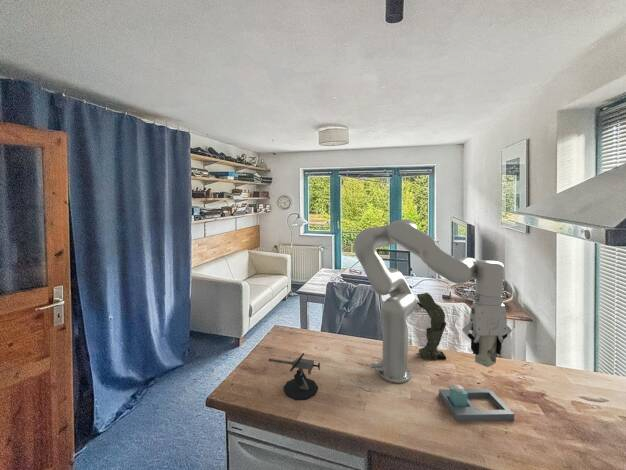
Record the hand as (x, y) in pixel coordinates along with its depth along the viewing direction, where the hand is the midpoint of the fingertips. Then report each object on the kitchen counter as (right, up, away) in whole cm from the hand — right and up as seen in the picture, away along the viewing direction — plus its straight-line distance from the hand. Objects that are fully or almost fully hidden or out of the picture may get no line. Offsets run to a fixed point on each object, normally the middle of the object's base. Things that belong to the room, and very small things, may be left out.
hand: (485, 352), depth 99 cm
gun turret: (-64, -19, +13) cm, 68 cm away
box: (0, -4, 0) cm, 4 cm away
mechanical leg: (-4, -16, +36) cm, 39 cm away
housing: (-3, -19, +2) cm, 19 cm away
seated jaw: (-8, -19, +2) cm, 21 cm away
